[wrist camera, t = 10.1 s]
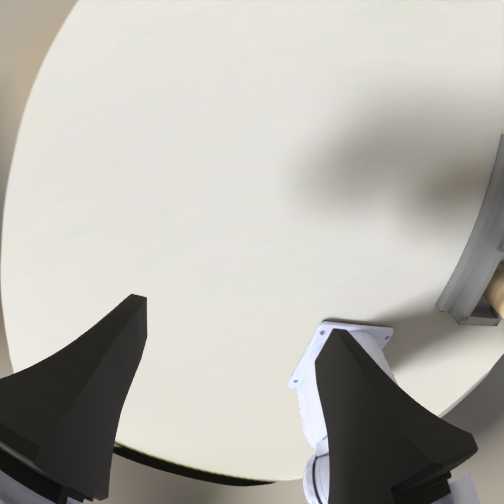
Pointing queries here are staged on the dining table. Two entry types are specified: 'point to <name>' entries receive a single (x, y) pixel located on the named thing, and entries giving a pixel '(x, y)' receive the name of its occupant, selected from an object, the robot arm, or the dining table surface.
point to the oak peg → (496, 290)
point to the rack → (479, 258)
